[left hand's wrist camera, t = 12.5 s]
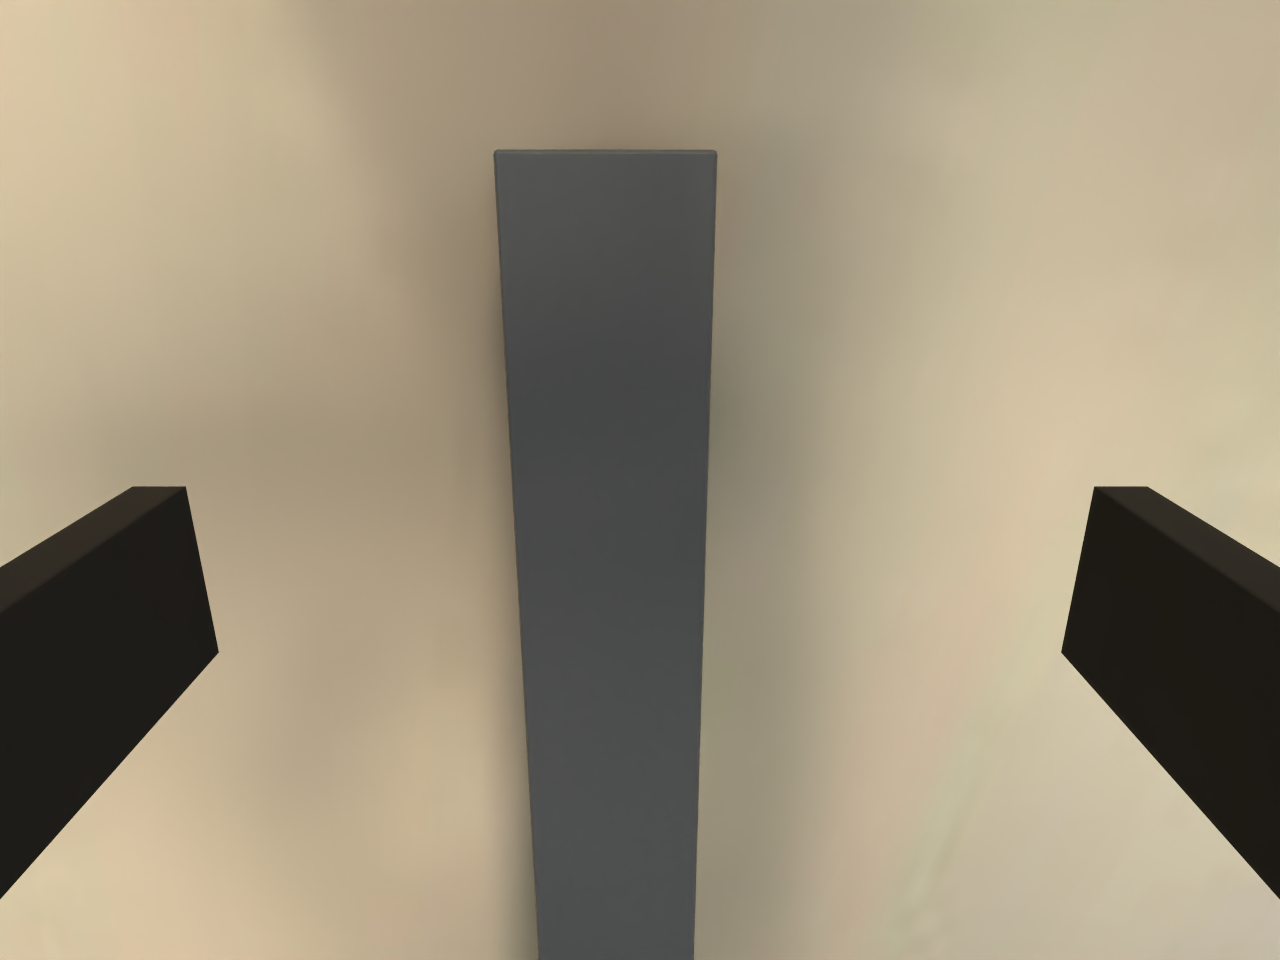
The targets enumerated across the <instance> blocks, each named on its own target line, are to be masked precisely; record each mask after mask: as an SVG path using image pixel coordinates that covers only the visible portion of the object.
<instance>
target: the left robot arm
mask: <svg viewBox="0 0 1280 960" xmlns="http://www.w3.org/2000/svg"><path fill="white" fill-rule="evenodd" d="M218 653H219V651H218V646H217V641H216V636H215V631H214V626H213V621H212V616H211V611H210V606H209V601H208V596H207V591H206V586H205V581H204V576H203V571H202V566H201V561H200V556H199V551H198V546H197V541H196V536H195V531H194V526H193V521H192V516H191V511H190V506H189V501H188V496H187V491H186V487H131V488H130V489H128V490H126V491H125V492H123V493H121V494H120V495H118V496H116V497H115V498H113V499H112V500H110V501H108V502H107V503H105V504H103V505H102V506H100V507H98V508H97V509H95V510H94V511H92V512H90V513H89V514H87V515H85V516H84V517H82V518H80V519H79V520H77V521H76V522H74V523H72V524H71V525H69V526H67V527H66V528H64V529H62V530H61V531H59V532H58V533H56V534H54V535H53V536H51V537H49V538H48V539H46V540H44V541H43V542H41V543H40V544H38V545H36V546H35V547H33V548H31V549H30V550H28V551H26V552H25V553H23V554H22V555H20V556H18V557H17V558H15V559H13V560H12V561H10V562H8V563H7V564H5V565H4V566H2V567H0V899H1V898H2V897H3V896H4V894H5V893H6V892H7V891H8V890H9V889H10V888H11V887H12V885H13V884H14V883H15V882H16V881H17V880H18V879H19V877H20V876H21V875H22V874H23V873H24V872H25V871H26V870H27V868H28V867H29V866H30V865H31V864H32V863H33V862H34V861H35V859H36V858H37V857H38V856H39V855H40V854H41V853H42V851H43V850H44V849H45V848H46V847H47V846H48V845H49V844H50V842H51V841H52V840H53V839H54V838H55V837H56V836H57V835H58V833H59V832H60V831H61V830H62V829H63V828H64V827H65V826H66V824H67V823H68V822H69V821H70V820H71V819H72V818H73V816H74V815H75V814H76V813H77V812H78V811H79V810H80V809H81V807H82V806H83V805H84V804H85V803H86V802H87V801H88V800H89V798H90V797H91V796H92V795H93V794H94V793H95V792H96V790H97V789H98V788H99V787H100V786H101V785H102V784H103V783H104V781H105V780H106V779H107V778H108V777H109V776H110V775H111V774H112V772H113V771H114V770H115V769H116V768H117V767H118V766H119V765H120V763H121V762H122V761H123V760H124V759H125V758H126V757H127V755H128V754H129V753H130V752H131V751H132V750H133V749H134V748H135V746H136V745H137V744H138V743H139V742H140V741H141V740H142V739H143V737H144V736H145V735H146V734H147V733H148V732H149V731H150V729H151V728H152V727H153V726H154V725H155V724H156V723H157V722H158V720H159V719H160V718H161V717H162V716H163V715H164V714H165V713H166V711H167V710H168V709H169V708H170V707H171V706H172V705H173V704H174V702H175V701H176V700H177V699H178V698H179V697H180V696H181V694H182V693H183V692H184V691H185V690H186V689H187V688H188V687H189V685H190V684H191V683H192V682H193V681H194V680H195V679H196V678H197V676H198V675H199V674H200V673H201V672H202V671H203V670H204V669H205V667H206V666H207V665H208V664H209V663H210V662H211V661H212V659H213V658H214V657H215V656H216V655H217V654H218ZM1061 653H1062V654H1063V655H1064V656H1065V657H1066V658H1067V659H1068V661H1069V662H1070V663H1071V664H1072V665H1073V666H1074V667H1075V668H1076V670H1077V671H1078V672H1079V673H1080V674H1081V675H1082V676H1083V678H1084V679H1085V680H1086V681H1087V682H1088V683H1089V684H1090V685H1091V687H1092V688H1093V689H1094V690H1095V691H1096V692H1097V693H1098V694H1099V696H1100V697H1101V698H1102V699H1103V700H1104V701H1105V702H1106V704H1107V705H1108V706H1109V707H1110V708H1111V709H1112V710H1113V711H1114V713H1115V714H1116V715H1117V716H1118V717H1119V718H1120V719H1121V720H1122V722H1123V723H1124V724H1125V725H1126V726H1127V727H1128V728H1129V729H1130V731H1131V732H1132V733H1133V734H1134V735H1135V736H1136V737H1137V739H1138V740H1139V741H1140V742H1141V743H1142V744H1143V745H1144V746H1145V748H1146V749H1147V750H1148V751H1149V752H1150V753H1151V754H1152V755H1153V757H1154V758H1155V759H1156V760H1157V761H1158V762H1159V763H1160V765H1161V766H1162V767H1163V768H1164V769H1165V770H1166V771H1167V772H1168V774H1169V775H1170V776H1171V777H1172V778H1173V779H1174V780H1175V781H1176V783H1177V784H1178V785H1179V786H1180V787H1181V788H1182V789H1183V790H1184V792H1185V793H1186V794H1187V795H1188V796H1189V797H1190V798H1191V800H1192V801H1193V802H1194V803H1195V804H1196V805H1197V806H1198V807H1199V809H1200V810H1201V811H1202V812H1203V813H1204V814H1205V815H1206V816H1207V818H1208V819H1209V820H1210V821H1211V822H1212V823H1213V824H1214V826H1215V827H1216V828H1217V829H1218V830H1219V831H1220V832H1221V833H1222V835H1223V836H1224V837H1225V838H1226V839H1227V840H1228V841H1229V842H1230V844H1231V845H1232V846H1233V847H1234V848H1235V849H1236V850H1237V851H1238V853H1239V854H1240V855H1241V856H1242V857H1243V858H1244V859H1245V861H1246V862H1247V863H1248V864H1249V865H1250V866H1251V867H1252V868H1253V870H1254V871H1255V872H1256V873H1257V874H1258V875H1259V876H1260V877H1261V879H1262V880H1263V881H1264V882H1265V883H1266V884H1267V885H1268V887H1269V888H1270V889H1271V890H1272V891H1273V892H1274V893H1275V894H1276V896H1277V897H1278V898H1279V899H1280V567H1278V566H1276V565H1275V564H1273V563H1272V562H1270V561H1268V560H1267V559H1265V558H1263V557H1262V556H1260V555H1258V554H1257V553H1255V552H1254V551H1252V550H1250V549H1249V548H1247V547H1245V546H1244V545H1242V544H1240V543H1239V542H1237V541H1236V540H1234V539H1232V538H1231V537H1229V536H1227V535H1226V534H1224V533H1222V532H1221V531H1219V530H1218V529H1216V528H1214V527H1213V526H1211V525H1209V524H1208V523H1206V522H1204V521H1203V520H1201V519H1200V518H1198V517H1196V516H1195V515H1193V514H1191V513H1190V512H1188V511H1186V510H1185V509H1183V508H1182V507H1180V506H1178V505H1177V504H1175V503H1173V502H1172V501H1170V500H1168V499H1167V498H1165V497H1164V496H1162V495H1160V494H1159V493H1157V492H1155V491H1154V490H1152V489H1150V488H1149V487H1094V491H1093V496H1092V501H1091V506H1090V511H1089V516H1088V521H1087V526H1086V531H1085V536H1084V541H1083V546H1082V551H1081V556H1080V561H1079V566H1078V571H1077V576H1076V581H1075V586H1074V591H1073V596H1072V601H1071V606H1070V611H1069V616H1068V621H1067V626H1066V631H1065V636H1064V641H1063V646H1062V651H1061Z"/></svg>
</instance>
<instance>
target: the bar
mask: <svg viewBox="0 0 1280 960" xmlns="http://www.w3.org/2000/svg"><path fill="white" fill-rule="evenodd" d="M494 172H495V190H496V208H497V225H498V243H499V261H500V279H501V297H502V314H503V332H504V350H505V368H506V385H507V403H508V421H509V439H510V457H511V474H512V492H513V510H514V528H515V546H516V563H517V581H518V599H519V617H520V634H521V652H522V670H523V688H524V706H525V723H526V741H527V759H528V777H529V794H530V812H531V830H532V848H533V866H534V883H535V901H536V919H537V937H538V955H539V960H694V929H695V895H696V861H697V827H698V793H699V759H700V725H701V691H702V657H703V623H704V589H705V555H706V521H707V487H708V453H709V419H710V385H711V351H712V317H713V283H714V249H715V215H716V181H717V152H716V151H714V150H496V151H494Z"/></svg>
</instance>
